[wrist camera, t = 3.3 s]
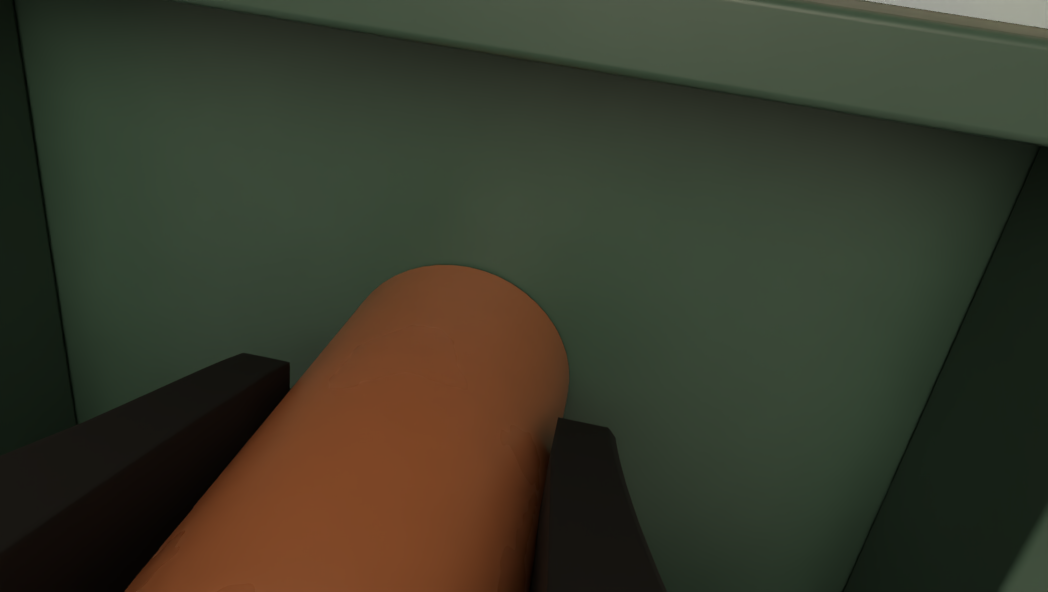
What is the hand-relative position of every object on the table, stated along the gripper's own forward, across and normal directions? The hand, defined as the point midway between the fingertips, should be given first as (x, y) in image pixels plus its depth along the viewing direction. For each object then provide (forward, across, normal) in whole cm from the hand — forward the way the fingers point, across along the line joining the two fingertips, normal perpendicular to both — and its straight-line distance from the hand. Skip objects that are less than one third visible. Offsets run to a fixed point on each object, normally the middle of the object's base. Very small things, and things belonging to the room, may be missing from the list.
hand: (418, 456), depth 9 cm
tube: (+2, 0, 0) cm, 2 cm away
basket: (+3, 0, 0) cm, 3 cm away
